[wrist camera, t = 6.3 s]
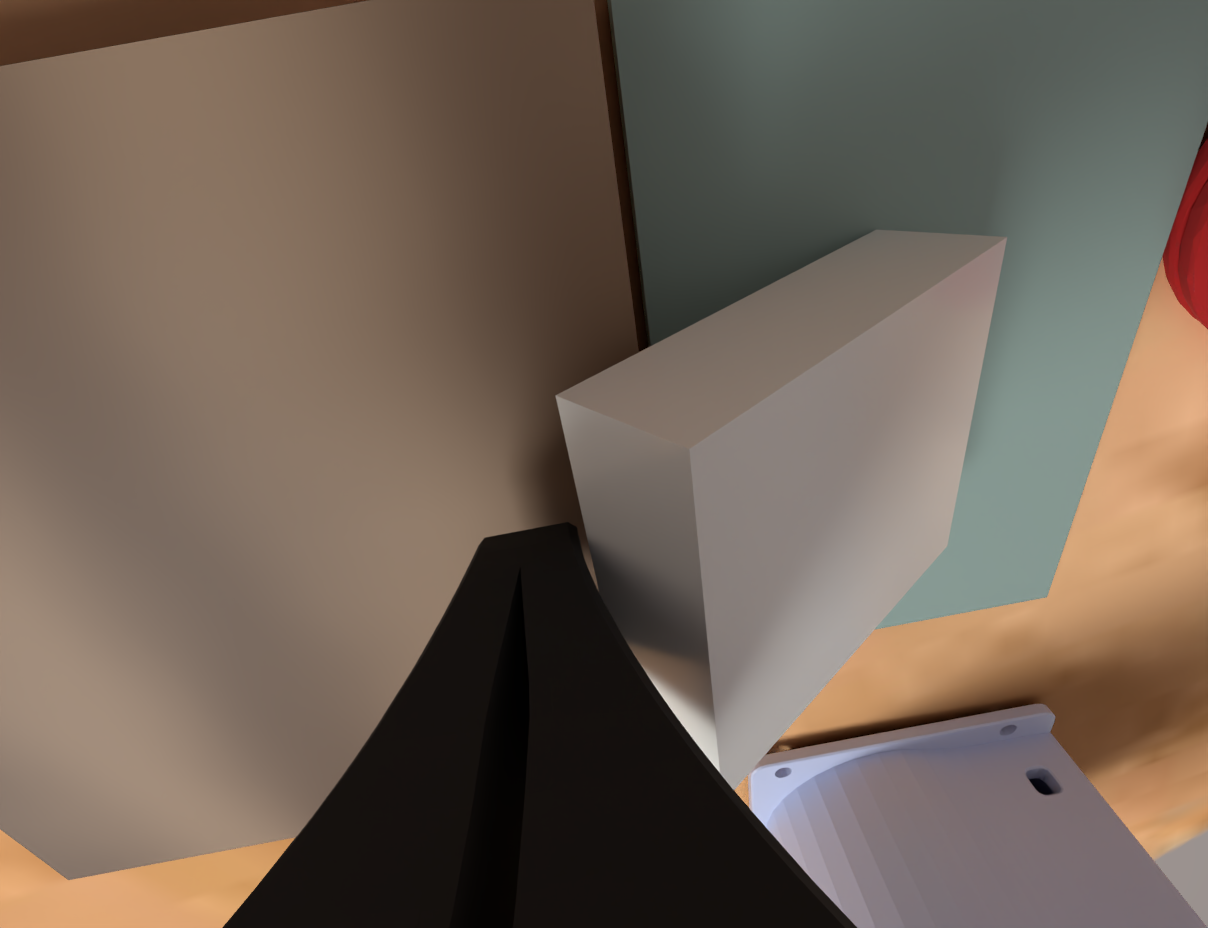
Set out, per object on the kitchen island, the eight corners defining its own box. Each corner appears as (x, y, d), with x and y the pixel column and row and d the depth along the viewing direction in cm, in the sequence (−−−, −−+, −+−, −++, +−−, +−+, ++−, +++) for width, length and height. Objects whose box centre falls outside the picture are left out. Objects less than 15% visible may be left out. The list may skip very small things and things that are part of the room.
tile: (876, 229, 10) (1007, 236, 9) (853, 508, 14) (947, 546, 12) (555, 395, 7) (688, 449, 5) (626, 718, 10) (722, 803, 9)
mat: (1264, -127, 9) (1293, -135, 8) (1036, 586, 16) (1047, 597, 16) (606, -9, 9) (609, -13, 8) (684, 652, 16) (687, 664, 16)
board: (571, -3, 9) (588, -40, 6) (665, 655, 16) (691, 762, 14) (-420, 175, 8) (-825, 213, 6) (141, 753, 16) (68, 880, 13)
